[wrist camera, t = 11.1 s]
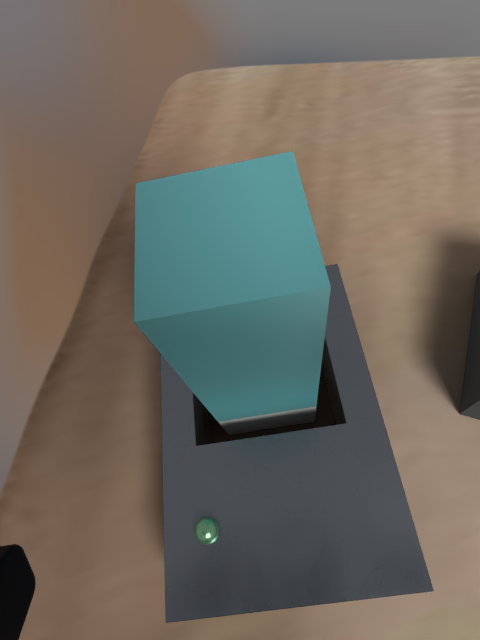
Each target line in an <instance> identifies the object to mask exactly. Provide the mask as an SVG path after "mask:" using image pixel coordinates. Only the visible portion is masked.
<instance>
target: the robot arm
mask: <svg viewBox="0 0 480 640" xmlns="http://www.w3.org/2000/svg"><path fill="white" fill-rule="evenodd" d="M34 591H35V576H34V573H33V571H32V569H31V566H30V564H29V562H28V559H27V557H26V555H25V553H24V550H23V549H22V547H21V546H19V545H16V544H13V545H6V546H0V640H19V637H20V634H21V631H22V628H23V625H24V622H25V619H26V616H27V613H28V610H29V606H30V603H31V600H32V597H33V594H34Z"/></svg>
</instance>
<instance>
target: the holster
mask: <svg viewBox="0 0 480 640" xmlns="http://www.w3.org/2000/svg"><path fill="white" fill-rule="evenodd" d="M460 414H462V415H465V416H469V417H472V418H476V419H479V420H480V271H479V273H478V274H477V281H476V288H475V296H474V304H473V312H472V320H471V328H470V336H469V344H468V352H467V360H466V368H465V376H464V384H463V392H462V400H461V408H460Z"/></svg>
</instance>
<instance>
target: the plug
mask: <svg viewBox="0 0 480 640" xmlns="http://www.w3.org/2000/svg"><path fill="white" fill-rule="evenodd" d="M330 289H331V286H330V282H329V279H328V275H327V271H326V268H325V264H324V261H323V257H322V254H321V250H320V246H319V243H318V239H317V236H316V232H315V229H314V225H313V221H312V218H311V214H310V211H309V207H308V204H307V200H306V196H305V193H304V189H303V186H302V182H301V179H300V175H299V171H298V168H297V164H296V161H295V157H294V154H293V151H291V152H287V153H282V154H277V155H272V156H267V157H262V158H257V159H252V160H247V161H243V162H238V163H233V164H228V165H223V166H218V167H213V168H208V169H203V170H199V171H194V172H189V173H184V174H179V175H174V176H169V177H164V178H159V179H155V180H150V181H145V182H140V183H135V273H134V323H135V324H136V325H137V326H138V327H139V329H140V330H141V331H142V332H143V333H144V335H145V336H146V337H147V338H148V339H149V341H150V342H151V343H152V344H153V345H154V346H155V348H156V349H157V350H158V351H159V352H160V354H161V355H162V356H163V357H164V358H165V360H166V361H167V362H168V363H169V364H170V366H171V367H172V368H173V369H174V370H175V371H176V373H177V374H178V375H179V376H180V377H181V379H182V380H183V381H184V382H185V383H186V385H187V386H188V387H189V388H190V389H191V390H192V392H193V393H194V394H195V395H196V396H197V398H198V399H199V400H200V401H201V402H202V404H203V405H204V406H205V407H206V408H207V410H208V411H209V412H210V413H211V414H212V415H213V417H214V418H215V419H216V420H217V421H218V423H219V424H220V425H221V426H222V427H223V429H224V430H225V431H226V432H227V433H228V435H232V434H239V433H245V432H251V431H258V430H264V429H271V428H277V427H283V426H290V425H296V424H303V423H309V422H315V414H316V406H317V397H318V389H319V381H320V372H321V364H322V356H323V347H324V339H325V331H326V322H327V314H328V306H329V297H330Z"/></svg>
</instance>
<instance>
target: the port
mask: <svg viewBox="0 0 480 640" xmlns="http://www.w3.org/2000/svg"><path fill="white" fill-rule="evenodd" d="M325 268H326V271H327V275H328V279H329V282H330V286H331V289H330V297H329V306H328V314H327V322H326V331H325V339H324V347H323V356H322V366H323V370H324V375H325V379H326V383H327V387H328V392H329V396H330V400H331V404H332V409H333V413H334V417H335V421H336V425H333V426H326V427H319V428H313V429H306V430H299V431H293V432H286V433H280V434H273V435H266V436H260V437H253V438H246V439H240V440H233V441H227V442H220V443H213V444H211V434H210V421H209V411H208V410H207V408H206V407H205V406H204V405H203V404H202V402H201V401H200V400H199V399H198V398H197V396H196V395H195V394H194V393H193V392H192V390H191V389H190V388H189V387H188V386H187V385H186V383H185V382H184V381H183V380H182V379H181V377H180V376H179V375H178V374H177V373H176V371H175V370H174V369H173V368H172V367H171V366H170V364H169V363H168V362H167V361H166V360H165V358H164V357H163V356H162V355H161V354H160V365H161V414H162V462H163V510H164V559H165V607H166V623H169V622H177V621H186V620H194V619H203V618H211V617H220V616H228V615H236V614H245V613H253V612H262V611H270V610H278V609H287V608H295V607H304V606H312V605H320V604H329V603H337V602H346V601H354V600H363V599H371V598H379V597H388V596H396V595H405V594H413V593H421V592H430V591H433V587H432V584H431V580H430V577H429V574H428V570H427V567H426V563H425V560H424V557H423V553H422V550H421V546H420V543H419V540H418V536H417V533H416V529H415V526H414V523H413V519H412V516H411V512H410V509H409V506H408V502H407V499H406V495H405V492H404V489H403V485H402V482H401V479H400V475H399V472H398V468H397V465H396V462H395V458H394V455H393V451H392V448H391V445H390V441H389V438H388V434H387V431H386V428H385V424H384V421H383V417H382V414H381V411H380V407H379V404H378V400H377V397H376V394H375V390H374V387H373V383H372V380H371V377H370V373H369V370H368V367H367V363H366V360H365V356H364V353H363V350H362V346H361V343H360V339H359V336H358V333H357V329H356V326H355V322H354V319H353V316H352V312H351V309H350V305H349V302H348V299H347V295H346V292H345V288H344V285H343V282H342V278H341V275H340V271H339V268H338V265H337V264H335V265H330V266H325Z"/></svg>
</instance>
